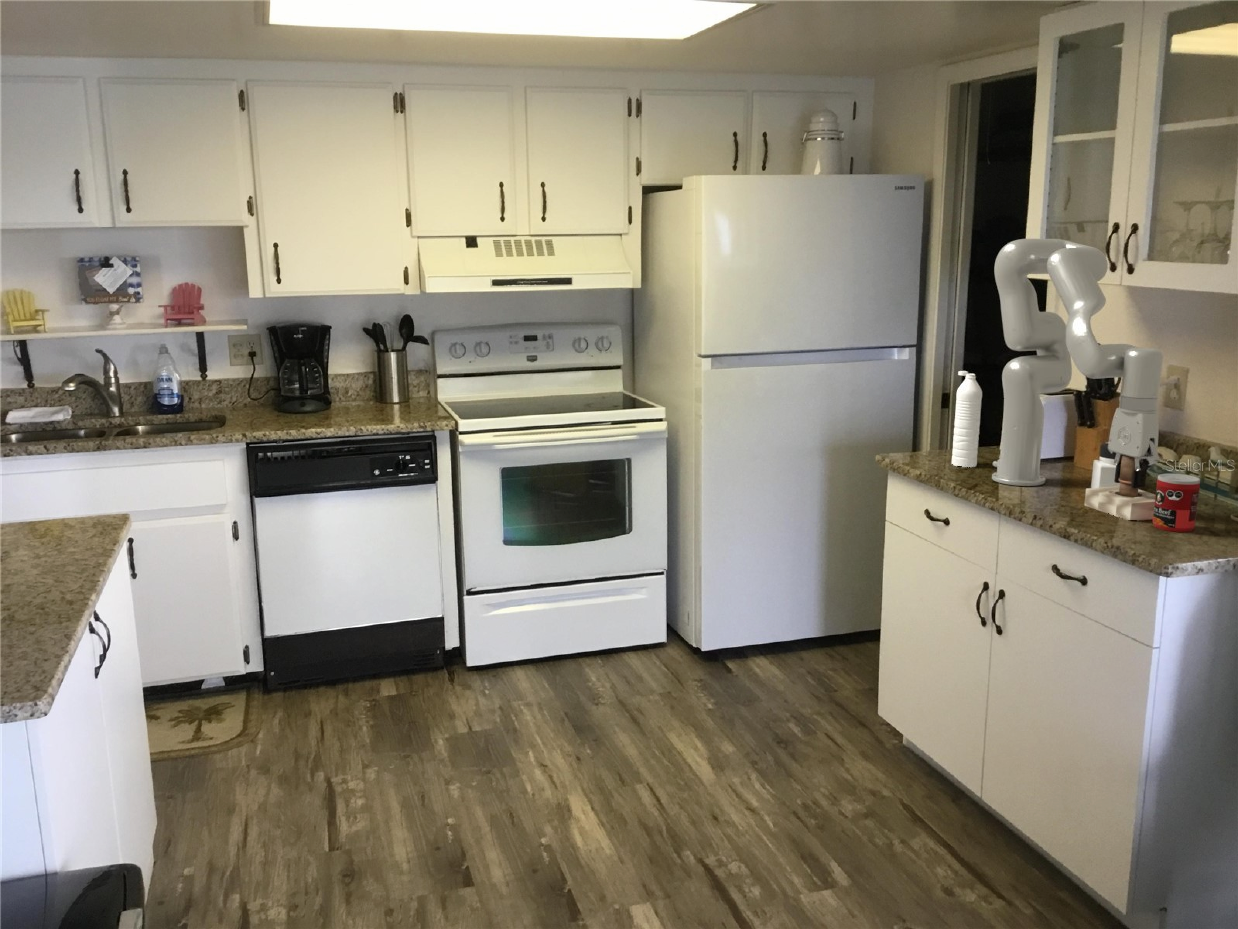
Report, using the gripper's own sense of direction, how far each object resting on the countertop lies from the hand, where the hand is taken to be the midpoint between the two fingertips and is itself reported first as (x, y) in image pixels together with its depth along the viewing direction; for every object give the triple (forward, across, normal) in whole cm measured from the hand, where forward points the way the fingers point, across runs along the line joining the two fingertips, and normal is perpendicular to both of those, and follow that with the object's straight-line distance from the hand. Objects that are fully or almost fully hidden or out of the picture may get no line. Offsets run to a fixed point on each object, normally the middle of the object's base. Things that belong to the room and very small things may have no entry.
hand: (1129, 484), depth 231 cm
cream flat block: (+6, 0, 0) cm, 6 cm away
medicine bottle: (+7, -16, +10) cm, 20 cm away
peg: (+3, 0, 0) cm, 3 cm away
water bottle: (+7, -53, -6) cm, 54 cm away
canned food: (+7, +14, 0) cm, 15 cm away
